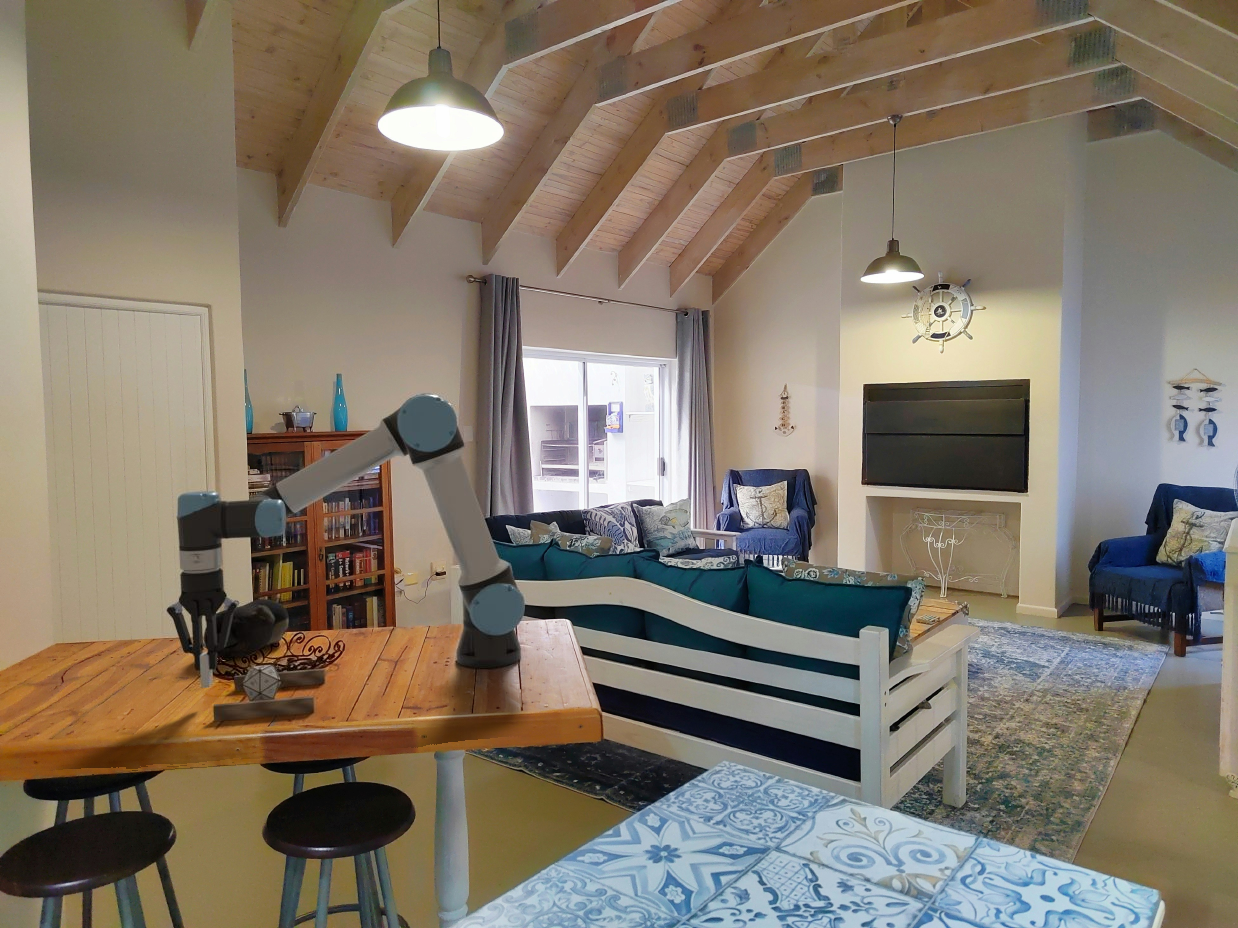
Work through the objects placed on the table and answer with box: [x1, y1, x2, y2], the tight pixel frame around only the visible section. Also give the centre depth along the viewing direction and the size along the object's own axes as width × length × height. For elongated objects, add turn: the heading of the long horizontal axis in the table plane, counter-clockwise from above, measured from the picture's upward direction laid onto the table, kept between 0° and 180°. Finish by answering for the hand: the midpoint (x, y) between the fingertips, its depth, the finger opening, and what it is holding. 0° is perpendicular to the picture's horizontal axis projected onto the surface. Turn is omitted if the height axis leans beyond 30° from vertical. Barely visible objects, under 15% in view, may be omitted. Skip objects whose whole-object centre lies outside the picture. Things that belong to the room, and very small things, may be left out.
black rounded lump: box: [203, 598, 289, 661], centre depth 197 cm, size 20×21×13 cm
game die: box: [238, 660, 285, 701], centre depth 162 cm, size 9×8×10 cm
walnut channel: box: [212, 668, 326, 723], centre depth 162 cm, size 18×18×3 cm
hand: (207, 685), depth 159 cm, fingers closed
